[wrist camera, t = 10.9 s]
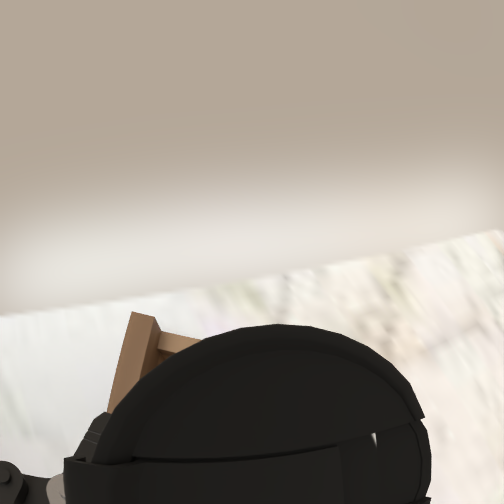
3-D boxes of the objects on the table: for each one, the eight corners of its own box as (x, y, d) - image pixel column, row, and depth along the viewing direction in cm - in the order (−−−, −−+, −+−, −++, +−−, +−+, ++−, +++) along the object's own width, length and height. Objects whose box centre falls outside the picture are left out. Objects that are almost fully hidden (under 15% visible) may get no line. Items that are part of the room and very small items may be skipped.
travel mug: (176, 397, 21) (56, 306, 4) (265, 394, 22) (444, 293, 5) (182, 476, 18) (100, 642, 1) (272, 471, 19) (466, 577, 2)
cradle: (126, 481, 18) (92, 504, 11) (153, 344, 24) (131, 311, 17) (303, 508, 19) (342, 538, 12) (321, 373, 25) (365, 352, 18)
